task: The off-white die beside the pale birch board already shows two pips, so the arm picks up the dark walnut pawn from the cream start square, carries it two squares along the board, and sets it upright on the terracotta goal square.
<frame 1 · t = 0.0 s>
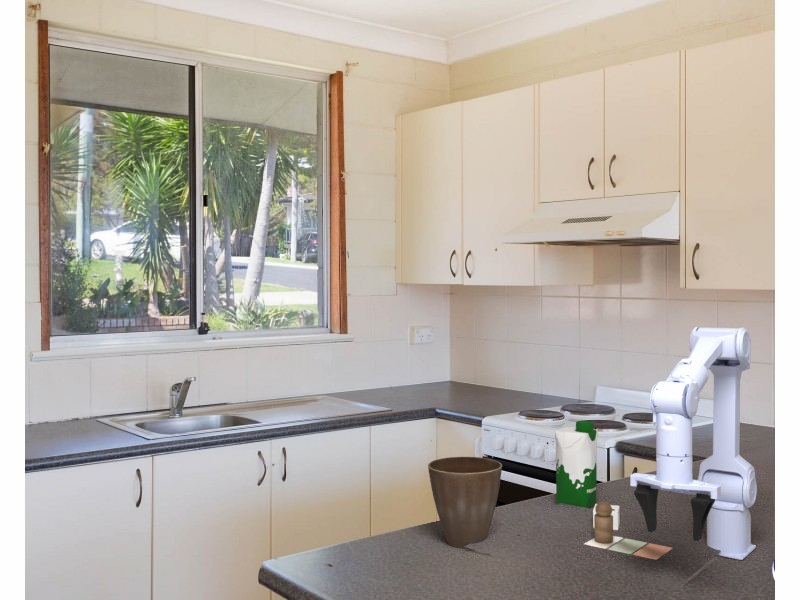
hand: (674, 534, 132), 10 cm above the worktop, tool pointing down, fingers open, 7 cm apart
pawn: (603, 540, 157), point 1 cm above the worktop, touching board
board: (627, 551, 154), on the worktop
plant pot: (465, 543, 160), on the worktop
milk carton: (576, 506, 187), on the worktop
die: (606, 531, 167), on the worktop
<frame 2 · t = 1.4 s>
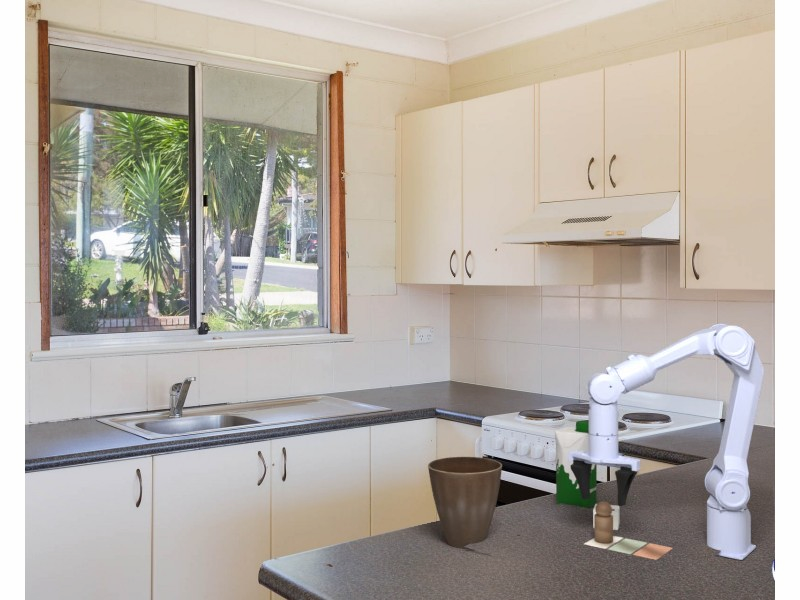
hand: (603, 501, 157), 9 cm above the worktop, tool pointing down, fingers open, 7 cm apart
nothing on the worktop moved.
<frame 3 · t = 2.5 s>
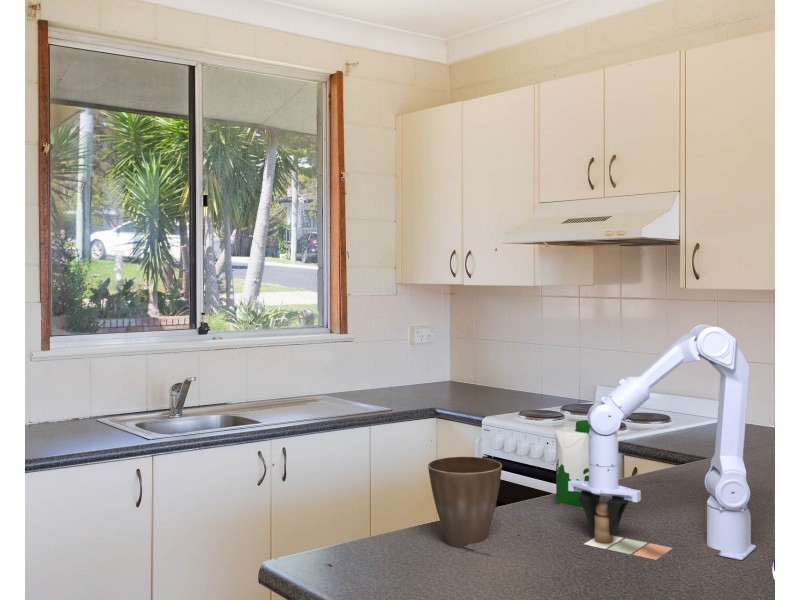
hand: (603, 532, 157), 3 cm above the worktop, tool pointing down, fingers closed on pawn, 4 cm apart
pawn: (603, 540, 157), point 1 cm above the worktop, touching board, gripper
everything else where it was.
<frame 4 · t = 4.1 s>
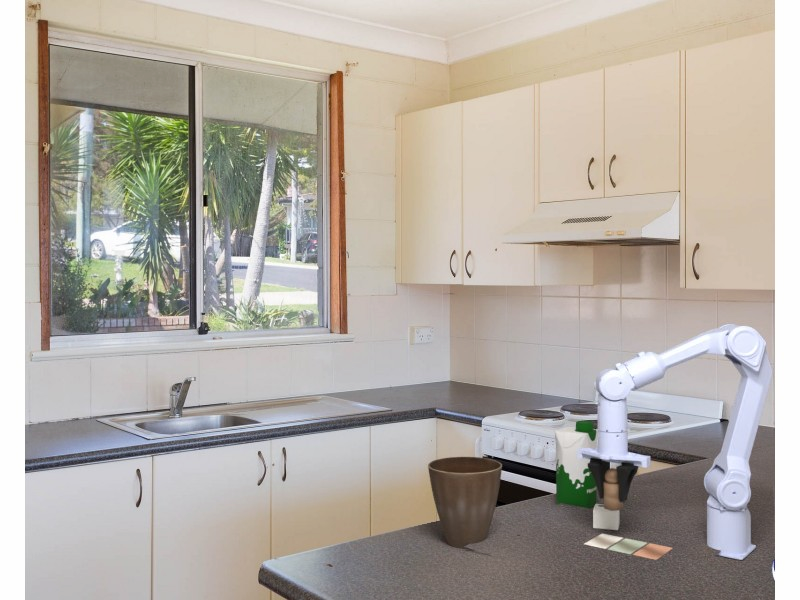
hand: (613, 499, 156), 10 cm above the worktop, tool pointing down, fingers closed on pawn, 4 cm apart
pawn: (613, 507, 156), point 8 cm above the worktop, touching gripper
everything else where it was.
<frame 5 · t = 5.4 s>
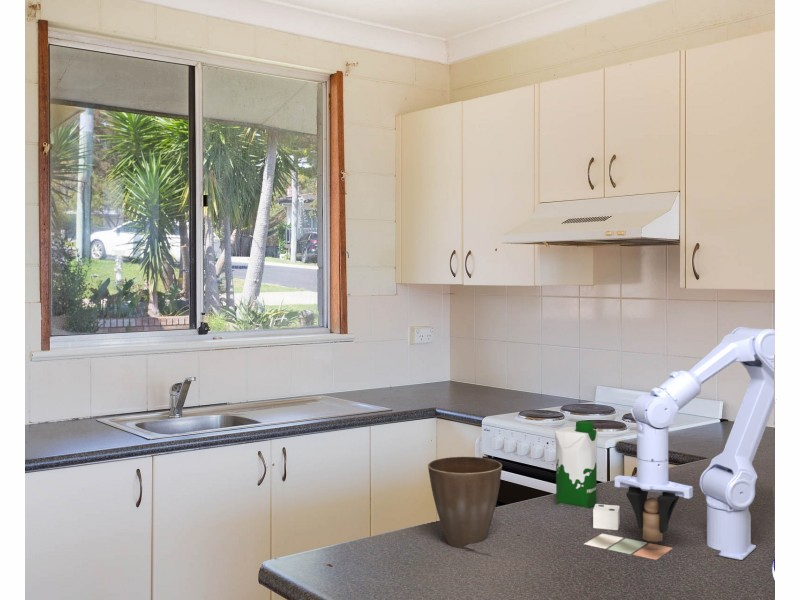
hand: (652, 529, 151), 5 cm above the worktop, tool pointing down, fingers closed on pawn, 4 cm apart
pawn: (652, 538, 151), point 4 cm above the worktop, touching gripper
everything else where it was.
when the fingers open (4 cm above the worktop, at t = 6.0 s): pawn drops 1 cm, resting on board.
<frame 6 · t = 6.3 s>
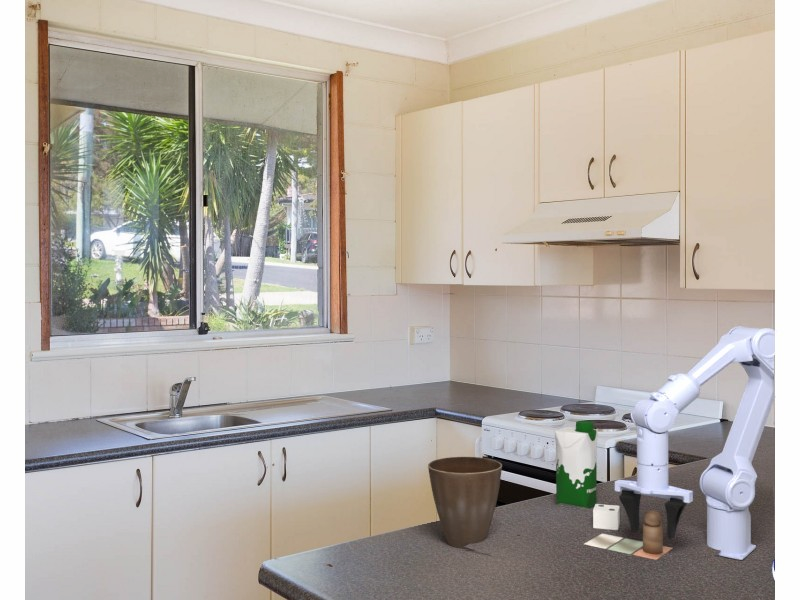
hand: (652, 534, 151), 4 cm above the worktop, tool pointing down, fingers open, 6 cm apart
pawn: (652, 550, 151), point 1 cm above the worktop, touching board
everything else where it was.
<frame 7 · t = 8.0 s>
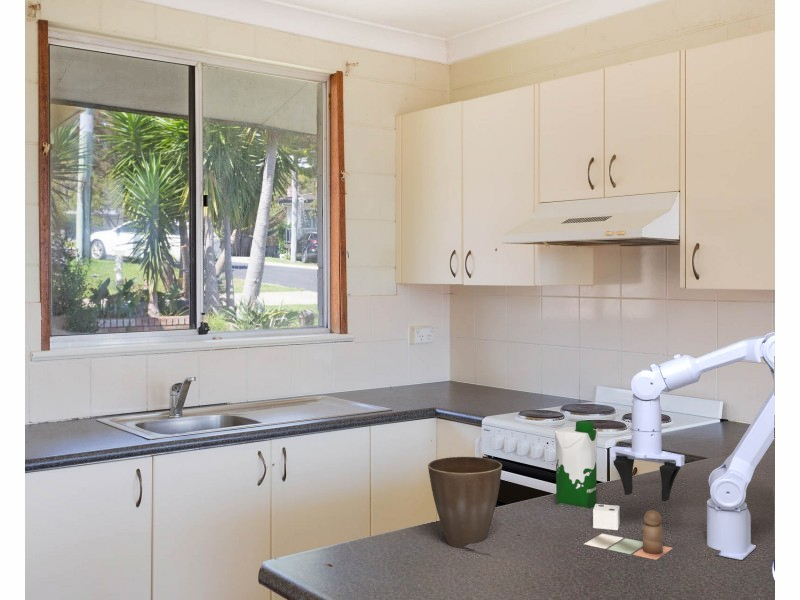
hand: (646, 497, 159), 9 cm above the worktop, tool pointing down, fingers open, 7 cm apart
nothing on the worktop moved.
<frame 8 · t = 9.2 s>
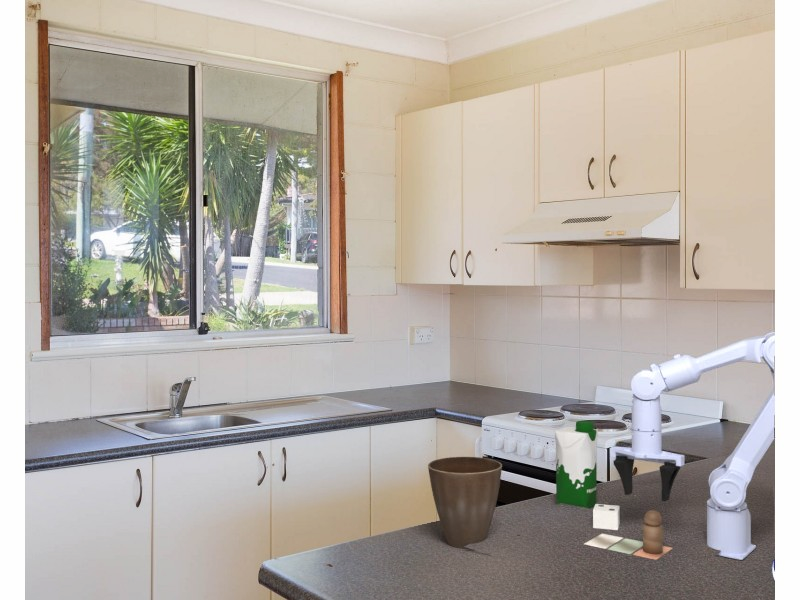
hand: (646, 497, 159), 9 cm above the worktop, tool pointing down, fingers open, 7 cm apart
nothing on the worktop moved.
at the end: pawn 0.0 cm from the target spot on the board, point 1.2 cm above the board's base; pawn tilted 0°; the gripper is holding nothing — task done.
